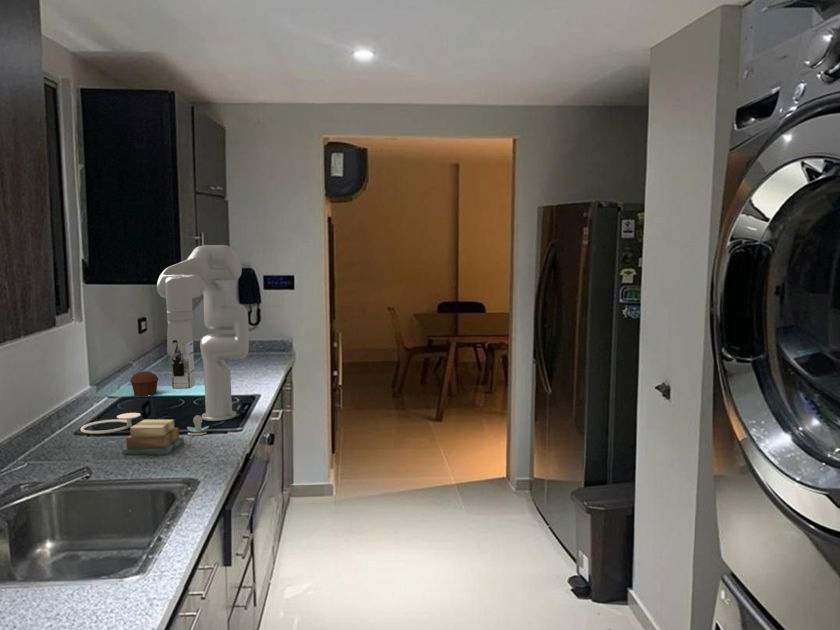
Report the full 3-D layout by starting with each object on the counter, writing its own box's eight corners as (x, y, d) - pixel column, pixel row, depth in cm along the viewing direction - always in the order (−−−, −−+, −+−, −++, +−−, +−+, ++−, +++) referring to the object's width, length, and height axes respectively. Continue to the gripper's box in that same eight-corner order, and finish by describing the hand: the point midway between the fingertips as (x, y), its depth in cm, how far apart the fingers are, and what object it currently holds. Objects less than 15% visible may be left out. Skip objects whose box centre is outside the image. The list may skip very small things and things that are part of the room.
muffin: (164, 392, 312) (162, 369, 311) (152, 397, 301) (150, 374, 300) (138, 391, 313) (137, 369, 312) (125, 397, 302) (124, 374, 301)
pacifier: (206, 436, 242) (210, 431, 248) (206, 418, 241) (209, 413, 247) (184, 437, 241) (188, 431, 247) (183, 419, 240) (187, 414, 246)
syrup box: (195, 384, 224) (193, 339, 222) (190, 389, 218) (188, 342, 216) (177, 385, 224) (174, 340, 222) (171, 389, 218) (169, 342, 216)
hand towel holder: (89, 411, 261) (146, 409, 263) (90, 423, 261) (147, 421, 264) (72, 423, 244) (133, 420, 246) (72, 435, 245) (134, 433, 247)
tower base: (142, 441, 236) (141, 417, 235) (183, 441, 235) (182, 418, 234) (122, 454, 222) (121, 429, 221) (166, 454, 221) (164, 429, 220)
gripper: (178, 313, 227) (181, 368, 229) (156, 320, 210) (159, 379, 212) (201, 313, 227) (204, 368, 229) (181, 320, 210) (184, 379, 212)
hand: (183, 373), depth 221 cm, fingers closed on syrup box, 6 cm apart
